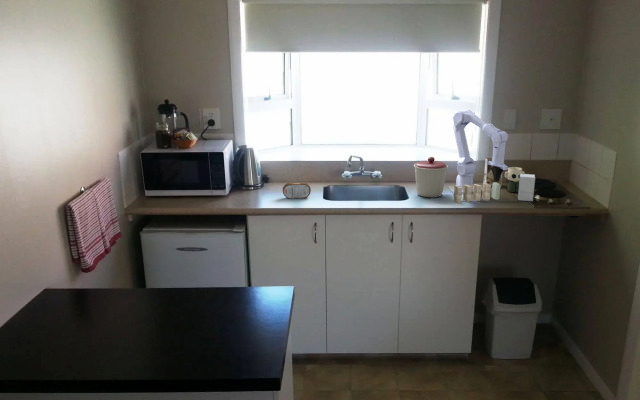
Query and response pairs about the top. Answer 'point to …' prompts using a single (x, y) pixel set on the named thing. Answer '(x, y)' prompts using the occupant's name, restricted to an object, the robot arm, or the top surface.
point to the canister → (430, 177)
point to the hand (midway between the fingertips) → (496, 180)
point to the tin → (296, 190)
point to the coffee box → (490, 174)
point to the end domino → (495, 190)
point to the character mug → (513, 178)
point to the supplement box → (526, 187)
